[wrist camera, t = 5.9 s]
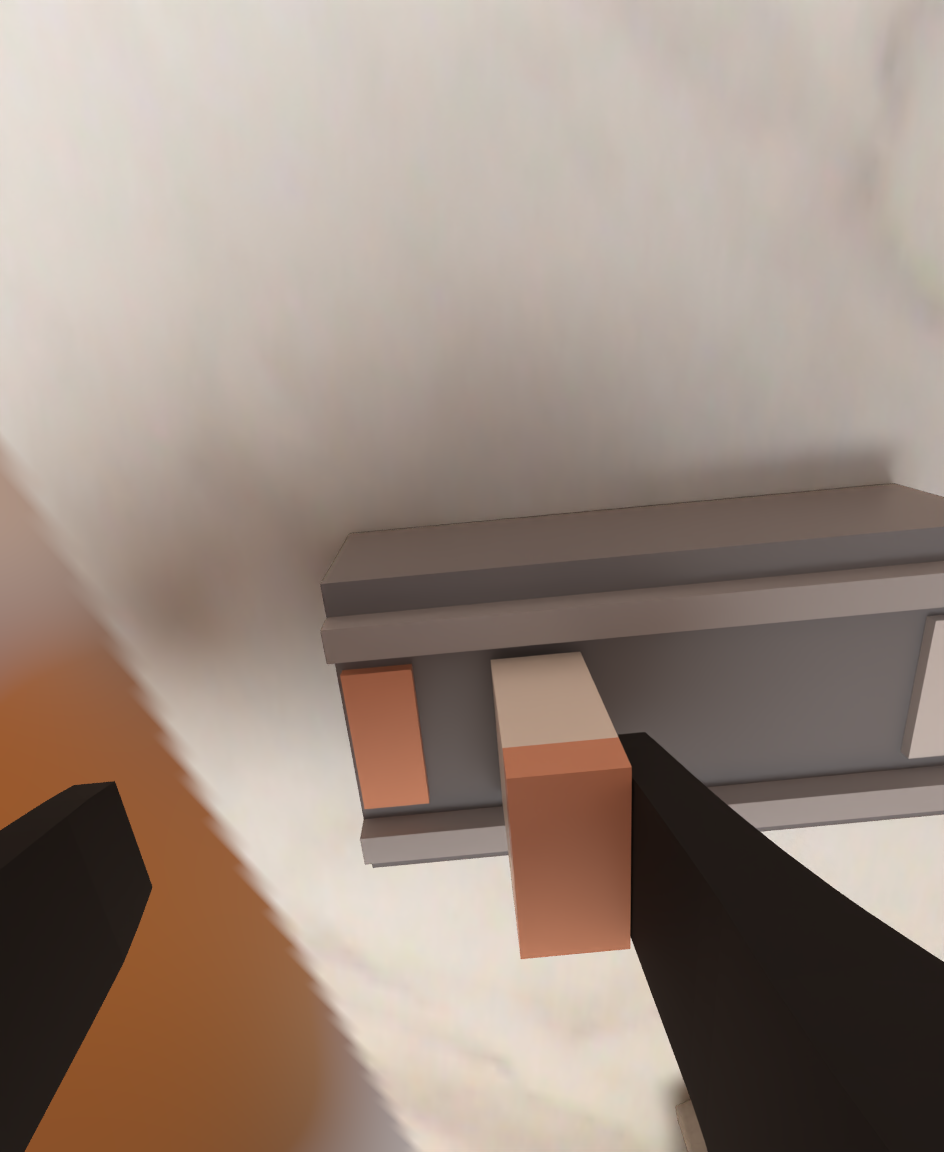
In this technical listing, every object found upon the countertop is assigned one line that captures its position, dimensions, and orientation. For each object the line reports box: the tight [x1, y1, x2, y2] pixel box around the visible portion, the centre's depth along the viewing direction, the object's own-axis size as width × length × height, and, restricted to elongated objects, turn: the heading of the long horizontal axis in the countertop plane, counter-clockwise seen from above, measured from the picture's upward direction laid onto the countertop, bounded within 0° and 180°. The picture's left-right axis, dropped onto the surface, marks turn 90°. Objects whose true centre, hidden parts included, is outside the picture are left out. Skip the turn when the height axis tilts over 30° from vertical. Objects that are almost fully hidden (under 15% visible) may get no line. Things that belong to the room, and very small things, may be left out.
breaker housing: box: [320, 483, 944, 868], centre depth 12 cm, size 12×6×4 cm, turn 95°
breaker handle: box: [491, 652, 632, 959], centre depth 9 cm, size 2×3×3 cm, turn 5°
